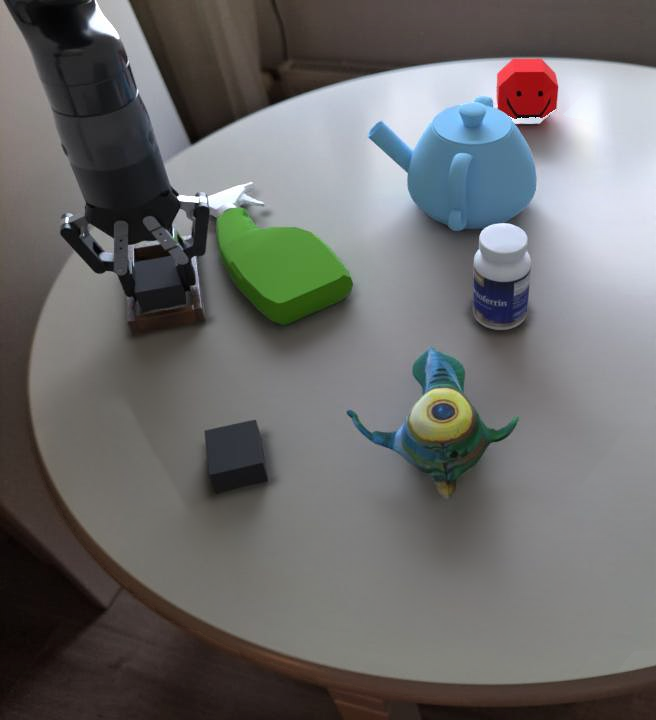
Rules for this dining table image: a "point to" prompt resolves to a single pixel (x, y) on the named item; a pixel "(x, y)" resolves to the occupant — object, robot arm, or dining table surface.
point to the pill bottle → (501, 277)
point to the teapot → (465, 165)
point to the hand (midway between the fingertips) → (162, 290)
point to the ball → (527, 89)
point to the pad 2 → (235, 456)
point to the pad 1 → (158, 284)
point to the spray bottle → (276, 261)
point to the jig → (169, 316)
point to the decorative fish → (440, 424)
